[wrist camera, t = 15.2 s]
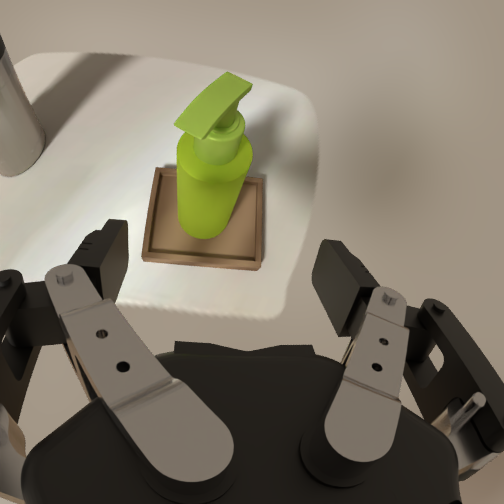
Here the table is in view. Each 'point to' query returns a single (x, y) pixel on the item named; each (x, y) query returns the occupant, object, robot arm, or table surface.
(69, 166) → the table surface
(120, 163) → the table surface
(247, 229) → the soap tray
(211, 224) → the soap dispenser
